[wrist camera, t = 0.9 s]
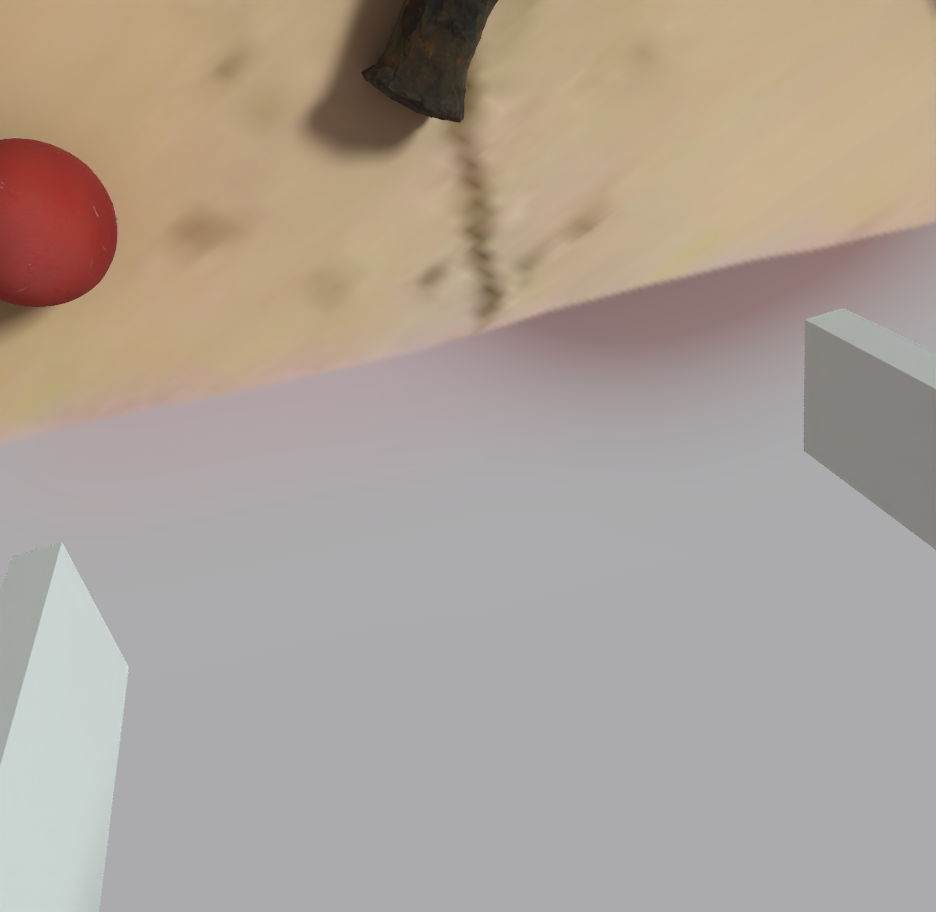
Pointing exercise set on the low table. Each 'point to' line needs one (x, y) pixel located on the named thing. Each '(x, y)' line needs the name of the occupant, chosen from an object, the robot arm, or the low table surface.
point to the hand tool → (431, 55)
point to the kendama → (51, 225)
